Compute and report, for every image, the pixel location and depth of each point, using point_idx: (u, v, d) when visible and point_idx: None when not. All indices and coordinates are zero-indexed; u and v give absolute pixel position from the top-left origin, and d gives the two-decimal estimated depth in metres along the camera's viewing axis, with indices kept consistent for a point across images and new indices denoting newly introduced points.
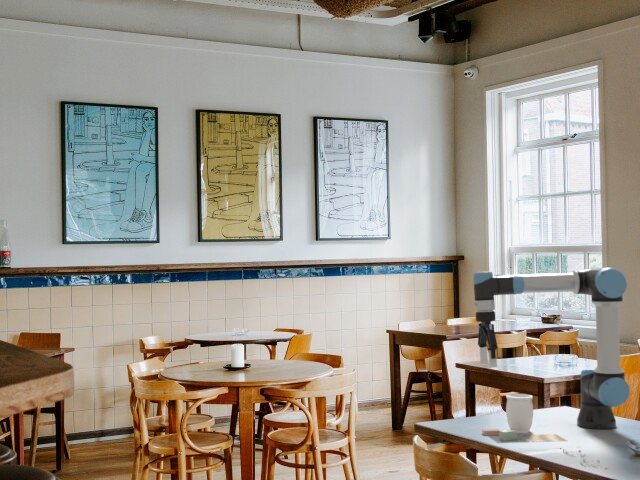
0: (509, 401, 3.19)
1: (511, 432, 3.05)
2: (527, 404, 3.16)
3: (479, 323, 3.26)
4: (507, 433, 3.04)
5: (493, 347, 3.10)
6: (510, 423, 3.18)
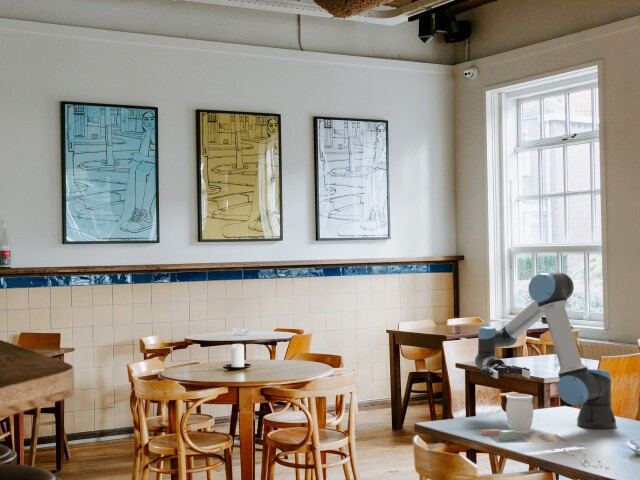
0: (509, 401, 3.19)
1: (511, 432, 3.05)
2: (527, 404, 3.16)
3: None
4: (507, 433, 3.04)
5: (482, 372, 3.35)
6: (510, 423, 3.18)
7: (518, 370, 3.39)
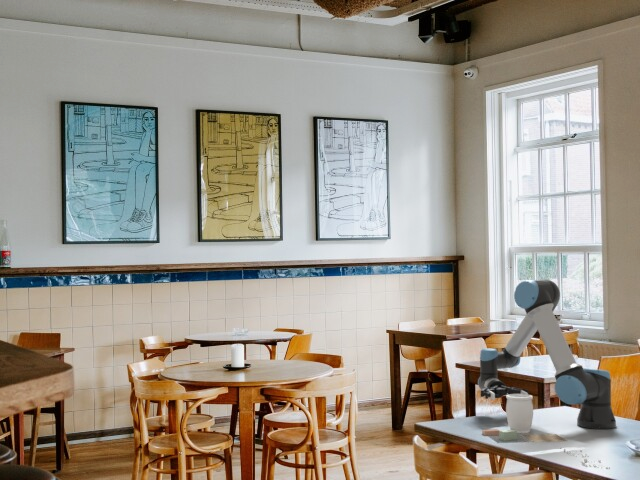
0: (509, 401, 3.19)
1: (511, 432, 3.05)
2: (527, 404, 3.16)
3: None
4: (507, 433, 3.04)
5: None
6: (510, 423, 3.18)
7: (517, 391, 3.40)
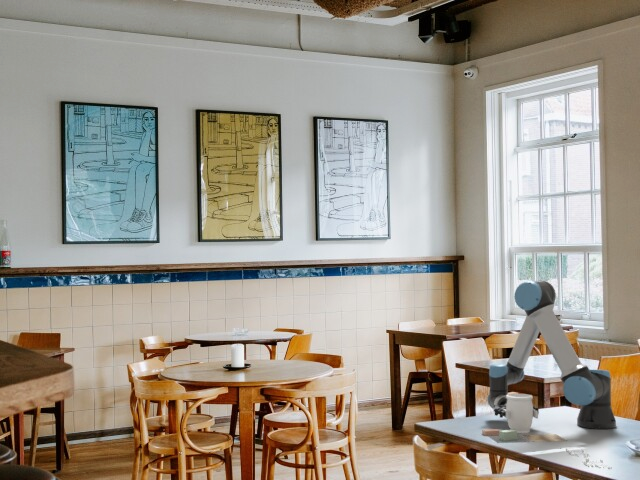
0: (509, 401, 3.19)
1: (511, 432, 3.05)
2: (527, 404, 3.16)
3: None
4: (507, 433, 3.04)
5: (495, 412, 3.24)
6: (510, 423, 3.18)
7: None
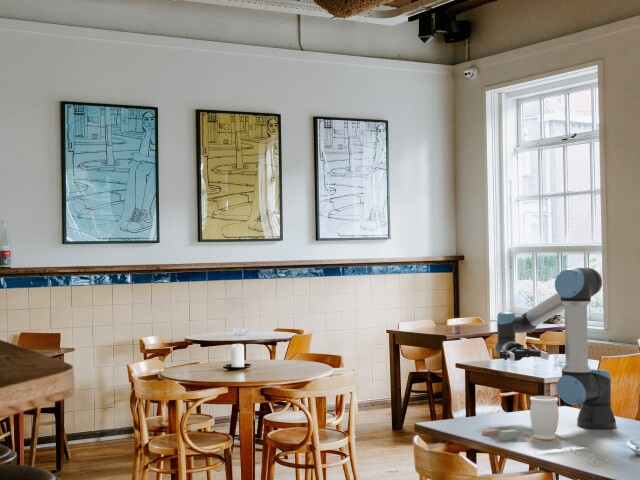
0: (533, 404, 3.06)
1: (511, 432, 3.05)
2: (553, 407, 3.03)
3: None
4: (507, 433, 3.04)
5: (499, 355, 3.29)
6: (534, 426, 3.05)
7: (537, 352, 3.31)
